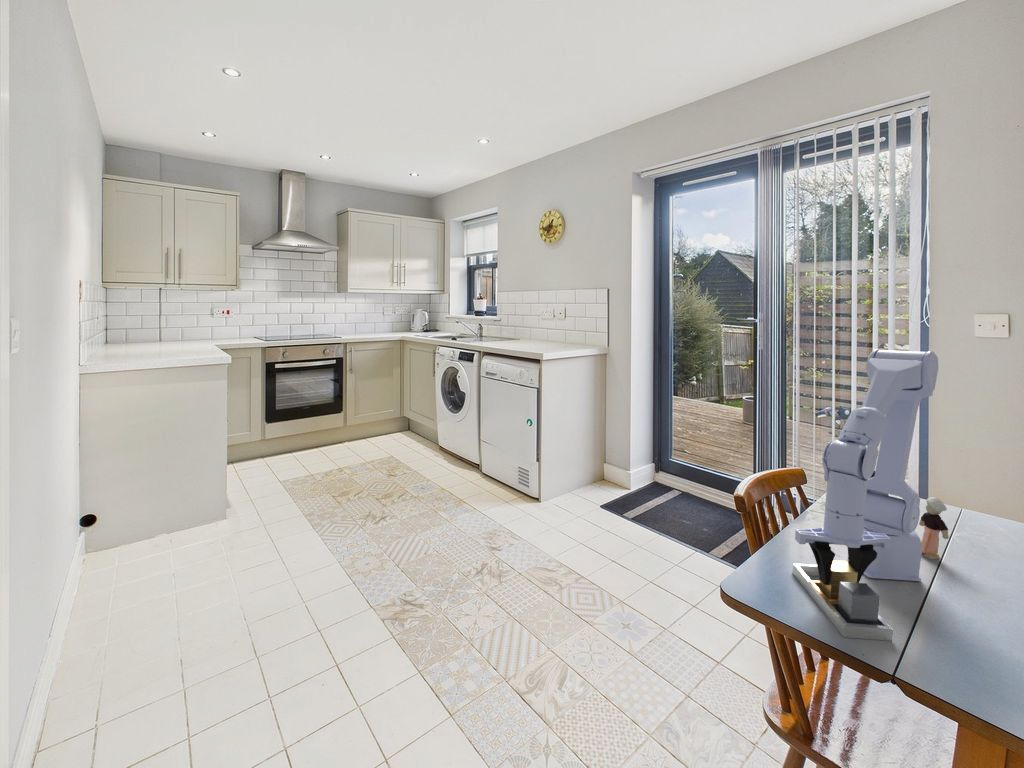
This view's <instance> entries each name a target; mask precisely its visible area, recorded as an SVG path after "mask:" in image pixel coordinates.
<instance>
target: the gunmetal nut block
mask: <svg viewBox="0 0 1024 768" xmlns="http://www.w3.org/2000/svg"><path fill="white" fill-rule="evenodd" d="M880 599H881V597H880V595H878V593H877V592H875V591H874V590H873V589H872V588H871V587H870V586H869V585H868V584H867V583H863V582H859V583H852V582H840V586H839V597H838V608H837V611H838V613H839V614H840V615H841V616H842V617H843V619H844V620H845V621H846V622H847V623H854V624H866V625H877V620H878V614H879V607H880Z"/></svg>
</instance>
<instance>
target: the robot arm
mask: <svg viewBox="0 0 1024 768" xmlns="http://www.w3.org/2000/svg"><path fill="white" fill-rule="evenodd" d="M865 367H866V368H865V369H866V370H865V371H866V375H867V379H868V383H870V384H869V385H868V388H867V391H866V394H865V396H864V399H863V402H862V405H861V407H858V408H855V409H853V410H852V411H851V412H850V413H849V415H848V417H847V419H846V421H845V423H844V425H843V427H842V428H841V431H840V433H839V435H838V436H837V439H835V440H832V441H829V442H828V443H827V444H826V446H825V448H824V451H823V456H822V457H821V458H822V460H821V461H822V467H823V472H824V473H823V479H824V481H825V482H826V493H825V503H824V504H825V505H824V506H825V507H824V516H823V517H824V518H823V526H822V527H813V528H812V527H811V528H804V529H803V528H802V529H801V528H799V529H797V528H796V529H795V534H794V539H795V540H796V542H797V543H798V545H806V544H808V545H809V547H810V550H811V551H812V553H813V556H814V558H815V562H816V565H817V567H818V571H819V576H818V577H819V581H820V580H821V581H822V583H823V584H824V585H829V582H830V573H831V566H832V562H833V560H834V559H835V557H836V553H835V552H834V551H832V546H830V545H838V546H845V547H847V555H848V556H847V559H848V561H847V563H848V564H849V565H850V566H851V567H852V568H853V569H854V570H856V571H857V572H858V576H857V583H860V581H861V579H862V577H863V575H864V576H865V577H867V578H869V579H880V580H881V579H882V580H893V581H895V580H896V581H911V582H912V581H913V582H922V578H921V577H920V570H921V563H922V562H921V560H922V554H923V553H922V545H921V541H922V540H921V537H920V536H919V535H918V533H917V532H916V529H917V526H918V524H919V522H920V515H921V509H920V502H921V498H920V495H919V493H918V492H917V491H916V490H914V489H913V488H912V487H911V486H910V485H909V484H908V483H907V482H906V474H907V469H908V466H909V464H908V463H909V458H910V455H911V454H910V453H911V448H912V442H913V436H914V431H915V428H916V427H915V426H916V420H917V416H918V410H919V407H920V404H921V402H922V399H925V398H928V397H931V396H933V395H934V393H933V392H934V391H935V388H936V383H937V376H938V372H939V358H938V355H937V354H936V353H935V352H934V351H932V350H931V351H930V350H927V351H915V350H896V349H895V350H893V349H892V350H891V349H881V348H874V349H873V350H872V351H871V352H870V353H869V354H868V357H867V360H866V365H865ZM878 447H879V449H878ZM874 471H875V476H874V477H872V478H870V477H871V476H872V474H873V472H874ZM872 490H874V491H879V492H883V493H887V494H889V496H887V495H883V494H879V493H875V492H871V491H872ZM891 495H892V496H891ZM894 496H896V497H894Z"/></svg>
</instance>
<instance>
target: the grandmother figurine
mask: <svg viewBox="0 0 1024 768" xmlns="http://www.w3.org/2000/svg"><path fill="white" fill-rule="evenodd" d="M925 510H926V511H927V512H924V513H923V514H922V516H921V517H920V519H919V521H918V524H919V525H920V526H921V527H924V528H923V529H924V531H923V534H922V539H921V540H920V541H921V545H922V553H921V554H923V557H924V558H926V559H929V560H930V559H931V560H939V559H940V558H941V557H940V555H939V554H938V553H939V547H940V535H939V534H940V532H941V535H942V536H941V537H942V538H943V539H944V540H948V539H949V538H950V536H949V527H948V526H947V524H946V523H945V521H944V520H943V519H942V517H941V515H940V514H941V513H942V512H946V511H947V510H948V509H947V507H946V505H945V503H944V502H943V501H942V500H941V499H939V498H937V497H932V496H931V497H928V498H927V499H926V506H925Z"/></svg>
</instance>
